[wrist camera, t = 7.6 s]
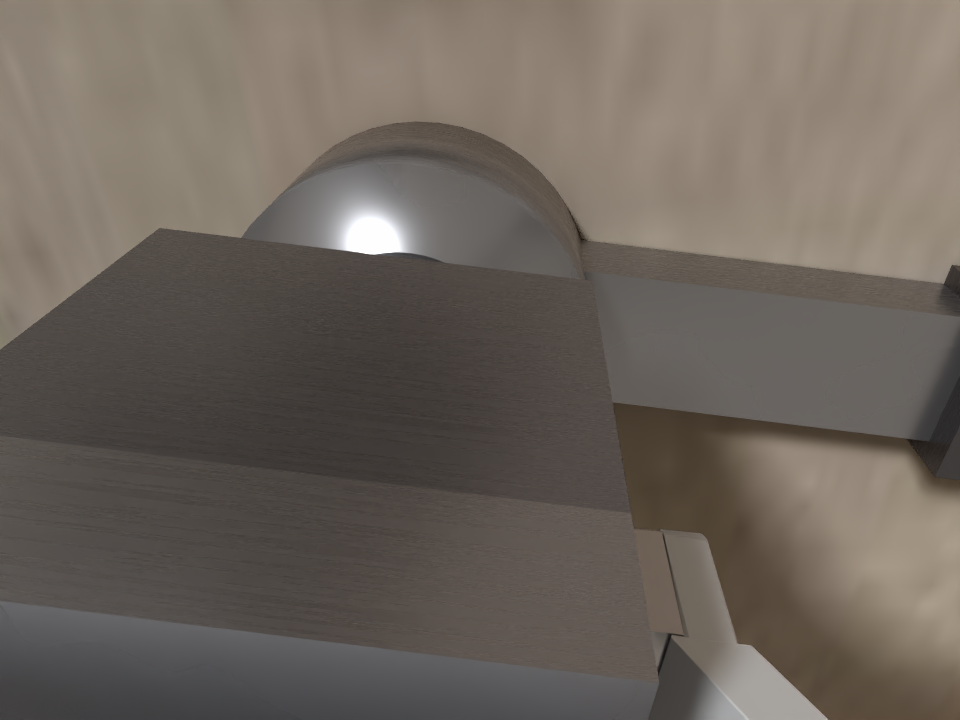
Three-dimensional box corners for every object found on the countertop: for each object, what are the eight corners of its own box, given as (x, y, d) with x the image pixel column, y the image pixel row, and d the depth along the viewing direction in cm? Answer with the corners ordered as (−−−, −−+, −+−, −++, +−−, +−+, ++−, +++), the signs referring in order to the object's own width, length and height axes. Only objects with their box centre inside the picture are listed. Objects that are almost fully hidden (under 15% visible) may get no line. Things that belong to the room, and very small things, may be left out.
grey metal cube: (592, 280, 10) (658, 683, 4) (532, 596, 12) (531, 1084, 7) (160, 228, 10) (-283, 566, 4) (192, 555, 12) (-61, 1007, 7)
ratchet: (1484, 247, 14) (2227, 491, 8) (1271, 520, 17) (1683, 849, 11) (266, 102, 14) (56, 227, 8) (275, 397, 17) (129, 649, 11)
